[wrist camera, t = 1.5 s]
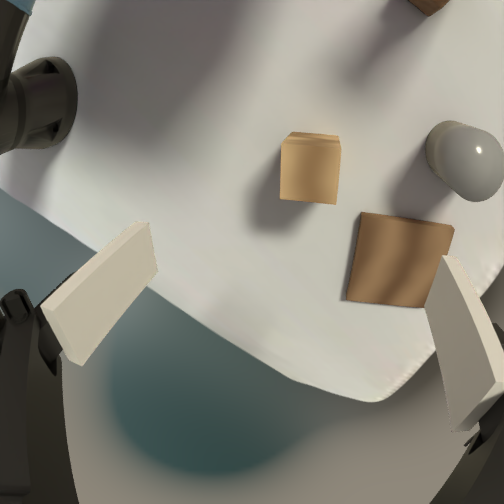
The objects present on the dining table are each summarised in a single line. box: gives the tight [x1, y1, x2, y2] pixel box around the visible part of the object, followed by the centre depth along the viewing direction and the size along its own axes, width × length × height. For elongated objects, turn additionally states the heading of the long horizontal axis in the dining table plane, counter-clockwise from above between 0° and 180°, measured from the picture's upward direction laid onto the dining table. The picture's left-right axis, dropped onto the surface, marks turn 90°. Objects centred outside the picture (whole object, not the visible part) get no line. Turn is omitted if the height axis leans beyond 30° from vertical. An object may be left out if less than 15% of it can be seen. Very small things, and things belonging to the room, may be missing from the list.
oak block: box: [280, 132, 341, 205], centre depth 28 cm, size 5×5×8 cm
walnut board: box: [346, 212, 455, 308], centre depth 35 cm, size 12×12×1 cm
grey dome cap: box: [425, 121, 504, 202], centre depth 24 cm, size 7×7×7 cm
